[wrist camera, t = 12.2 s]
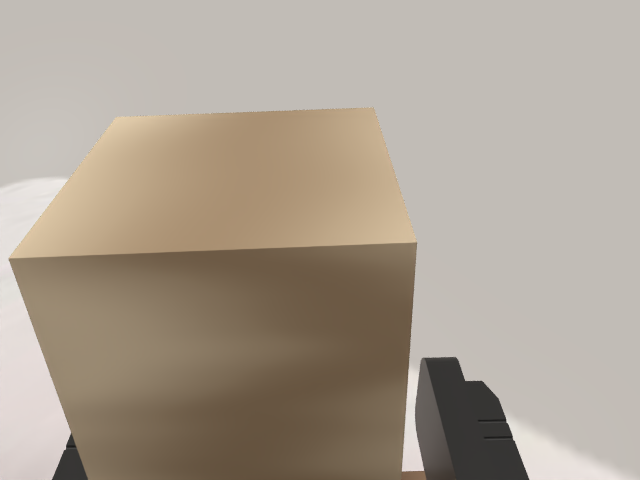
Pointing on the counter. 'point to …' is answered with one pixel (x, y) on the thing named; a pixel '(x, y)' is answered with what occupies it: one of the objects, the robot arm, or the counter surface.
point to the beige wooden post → (228, 298)
